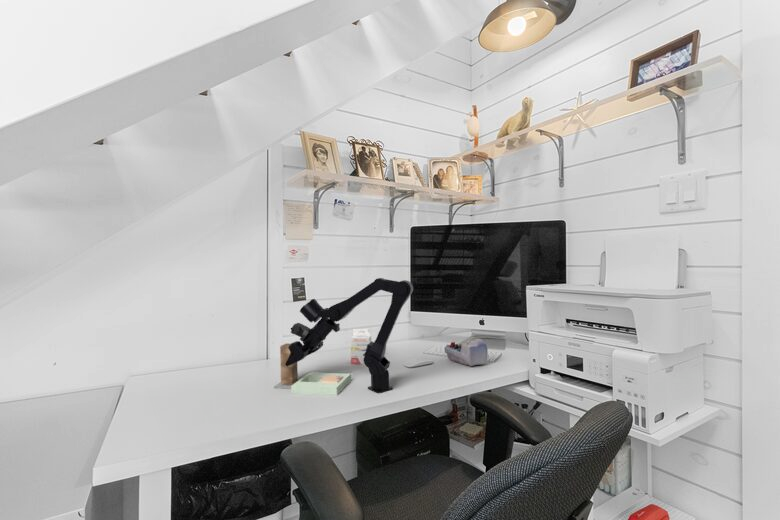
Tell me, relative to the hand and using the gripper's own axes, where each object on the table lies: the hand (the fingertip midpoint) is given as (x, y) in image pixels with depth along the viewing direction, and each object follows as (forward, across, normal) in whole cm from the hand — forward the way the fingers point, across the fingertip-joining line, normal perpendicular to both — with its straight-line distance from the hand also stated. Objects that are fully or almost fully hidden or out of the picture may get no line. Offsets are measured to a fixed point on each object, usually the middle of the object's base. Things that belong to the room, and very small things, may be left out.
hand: (292, 362), depth 137 cm
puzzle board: (-2, 0, +14) cm, 14 cm away
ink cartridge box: (-6, -33, +18) cm, 38 cm away
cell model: (-38, -40, +51) cm, 74 cm away
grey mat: (+7, 0, +5) cm, 8 cm away
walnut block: (+6, 0, +5) cm, 8 cm away
